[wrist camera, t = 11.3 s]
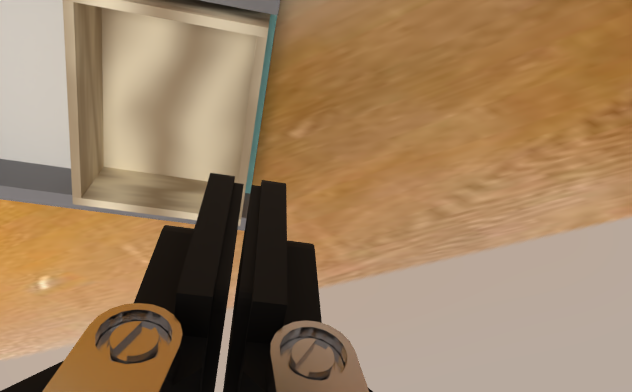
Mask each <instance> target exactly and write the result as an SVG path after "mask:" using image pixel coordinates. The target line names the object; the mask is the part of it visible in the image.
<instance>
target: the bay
mask: <svg viewBox="0 0 632 392" xmlns="http://www.w3.org/2000/svg"><path fill="white" fill-rule="evenodd" d="M201 1H206V2H211V3H216V4H221V5H226V6H232V7H237V8H242V9H247V10H252V11H257V12H263V13H268V14H270V21H269V28H268V35H267V42H266V49H265V56H264V63H263V70H262V77H261V84H260V91H259V98H258V105H257V112H256V119H255V126H254V133H253V140H252V147H251V154H250V161H249V168H248V175H247V182H246V189H245V196H244V203H243V210H242V217H241V224H240V226H238V229H237V230H244V231H245V226H246V219H247V212H248V206H249V199H250V192H251V186H252V180H253V173H254V167H255V160H256V153H257V146H258V140H259V133H260V126H261V120H262V113H263V106H264V99H265V93H266V86H267V79H268V73H269V66H270V59H271V53H272V46H273V39H274V32H275V26H276V19H277V15H278V12H279V5H280V0H201ZM0 199H3V200H11V201H19V202H26V203H34V204H42V205H50V206H57V207H65V208H73V209H81V210H88V211H96V212H104V213H112V214H120V215H127V216H135V217H143V218H151V219H158V220H166V221H174V222H182V223H189V224H196V221H197V220H190V219H183V218H175V217H167V216H159V215H152V214H144V213H136V212H129V211H121V210H113V209H106V208H98V207H90V206H82V205H75V204H73V198H72V178H71V159H70V139H69V119H68V99H67V79H66V60H65V40H64V20H63V0H0Z"/></svg>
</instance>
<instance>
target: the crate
mask: <svg viewBox="0 0 632 392" xmlns="http://www.w3.org/2000/svg"><path fill="white" fill-rule="evenodd" d="M63 20H64V40H65V60H66V79H67V99H68V119H69V139H70V159H71V178H72V198H73V204H75V205H82V206H90V207H98V208H106V209H113V210H121V211H129V212H136V213H144V214H152V215H159V216H167V217H175V218H183V219H190V220H197V218H198V214H199V211H200V207H201V204H202V200H203V197H204V193H205V189H206V186H207V182H208V179H209V175H210V173H216V174H223V175H230V176H235V182H234V183H241V184H244V186H243V193H242V200H241V208H240V215H239V222H238V226H240V224H241V217H242V210H243V203H244V196H245V189H246V182H247V175H248V168H249V161H250V154H251V147H252V140H253V133H254V126H255V119H256V112H257V105H258V98H259V91H260V84H261V77H262V70H263V63H264V56H265V49H266V42H267V35H268V28H269V21H270V14H268V13H263V12H257V11H252V10H247V9H242V8H237V7H232V6H226V5H221V4H216V3H211V2H206V1H201V0H63Z"/></svg>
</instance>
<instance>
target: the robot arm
mask: <svg viewBox="0 0 632 392" xmlns="http://www.w3.org/2000/svg"><path fill="white" fill-rule="evenodd" d="M234 182H235V176H230V175H223V174H216V173H210V175H209V179H208V182H207V186H206V189H205V193H204V197H203V200H202V204H201V207H200V211H199V214H198V218H197V221H196V225H195V228H194V229H192V228H184V227H176V226H168V225H165V226H164V227H163V229H162V231H161V234H160V237H159V239H158V242H157V244H156V247H155V250H154V252H153V255H152V257H151V260H150V263H149V265H148V268H147V270H146V273H145V276H144V278H143V281H142V283H141V286H140V288H139V291H138V294H137V296H136V299H135V301H134V304H125V305H121V306H118V307H115V308H112V309H109V310H108V311H106V312H104V313H103V314H101V315H99V316H98V317H97V318H96V319H95V320H94V321H93V322H92V323H91V324H90V325H89V326H88V328H87V329H86V331H85V332H84V333H83V335H82V336H81V338H80V339H79V340H78V342H77V343H76V345H75V346H74V347H73V349H72V350H71V352H70V353H69V355H68V356H67V357H66V359H65V360H64V361H62V362H60V363H58V364H56V365H54V366H52V367H50V368H48V369H46V370H44V371H41V372H39V373H37V374H35V375H33V376H31V377H29V378H27V379H25V380H23V381H21V382H19V383H16V384H14V385H12V386H10V387H8V388H6V389H4V390H2V391H0V392H214V389H215V382H216V376H217V368H218V362H219V355H220V348H221V341H222V333H223V327H224V320H225V314H226V307H227V300H228V293H229V286H230V279H231V272H232V265H233V258H234V250H235V243H236V236H237V229H238V222H239V215H240V208H241V200H242V193H243V186H244V184H241V183H234ZM223 392H373V391H371V390H370V389H369V388H368V387H367V384H366V381H365V379H364V375H363V373H362V370H361V367H360V364H359V361H358V358H357V355H356V352H355V350H354V348H353V347H352V345H351V343H350V341H349V340H348V339H347V338H346V337H345V336H344V335H343V334H342V333H341V332H339V331H338V330H336V329H334V328H333V327H331V326H329V325H326V324H323V323H322V322H321V312H320V301H319V290H318V280H317V269H316V258H315V249H314V245H313V244H309V243H302V242H294V241H287V217H286V184H285V183H278V182H272V181H265V180H262V182H261V186H255V185H252V186H251V192H250V199H249V206H248V212H247V219H246V226H245V232H244V239H243V246H242V253H241V259H240V266H239V273H238V279H237V286H236V294H235V302H234V310H233V318H232V326H231V333H230V341H229V349H228V357H227V365H226V373H225V381H224V389H223Z"/></svg>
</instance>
